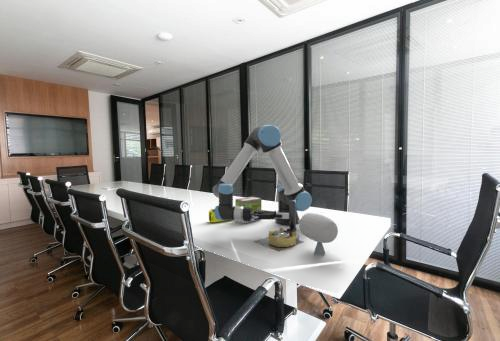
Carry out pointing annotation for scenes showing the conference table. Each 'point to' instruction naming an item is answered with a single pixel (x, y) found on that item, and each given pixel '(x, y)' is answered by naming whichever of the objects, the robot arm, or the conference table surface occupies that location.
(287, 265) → the conference table surface
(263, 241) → the plate
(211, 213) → the yellow toy chassis
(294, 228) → the tan base with handle
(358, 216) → the conference table surface
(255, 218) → the robot arm
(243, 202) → the tea box
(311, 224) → the grey oval on stand
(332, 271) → the conference table surface
